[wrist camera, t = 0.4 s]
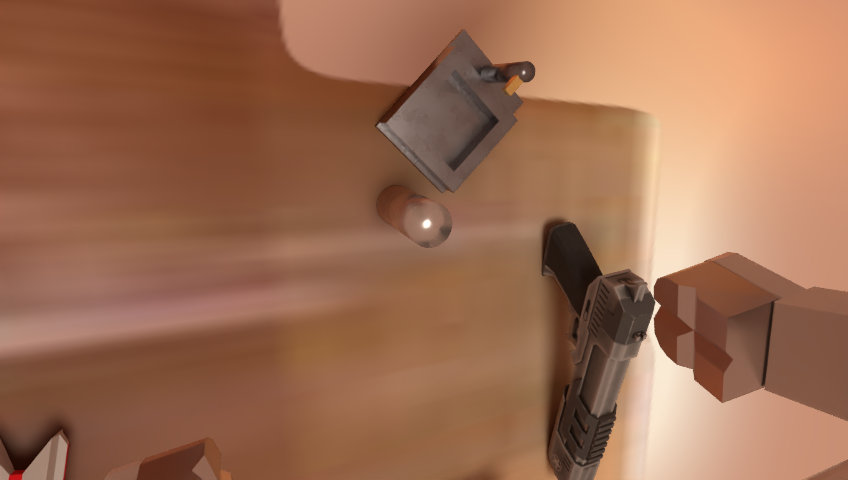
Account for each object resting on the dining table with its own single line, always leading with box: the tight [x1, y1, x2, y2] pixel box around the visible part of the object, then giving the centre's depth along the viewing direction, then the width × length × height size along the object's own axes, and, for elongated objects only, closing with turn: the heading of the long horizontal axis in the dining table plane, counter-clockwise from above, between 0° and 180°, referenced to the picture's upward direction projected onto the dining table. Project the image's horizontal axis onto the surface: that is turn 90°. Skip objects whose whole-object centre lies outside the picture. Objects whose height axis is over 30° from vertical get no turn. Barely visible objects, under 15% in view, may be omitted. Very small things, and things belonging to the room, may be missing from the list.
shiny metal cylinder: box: [377, 185, 452, 248], centre depth 53 cm, size 4×4×10 cm
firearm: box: [542, 222, 655, 480], centre depth 66 cm, size 4×33×15 cm, turn 6°
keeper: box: [375, 30, 535, 193], centre depth 54 cm, size 10×13×8 cm
